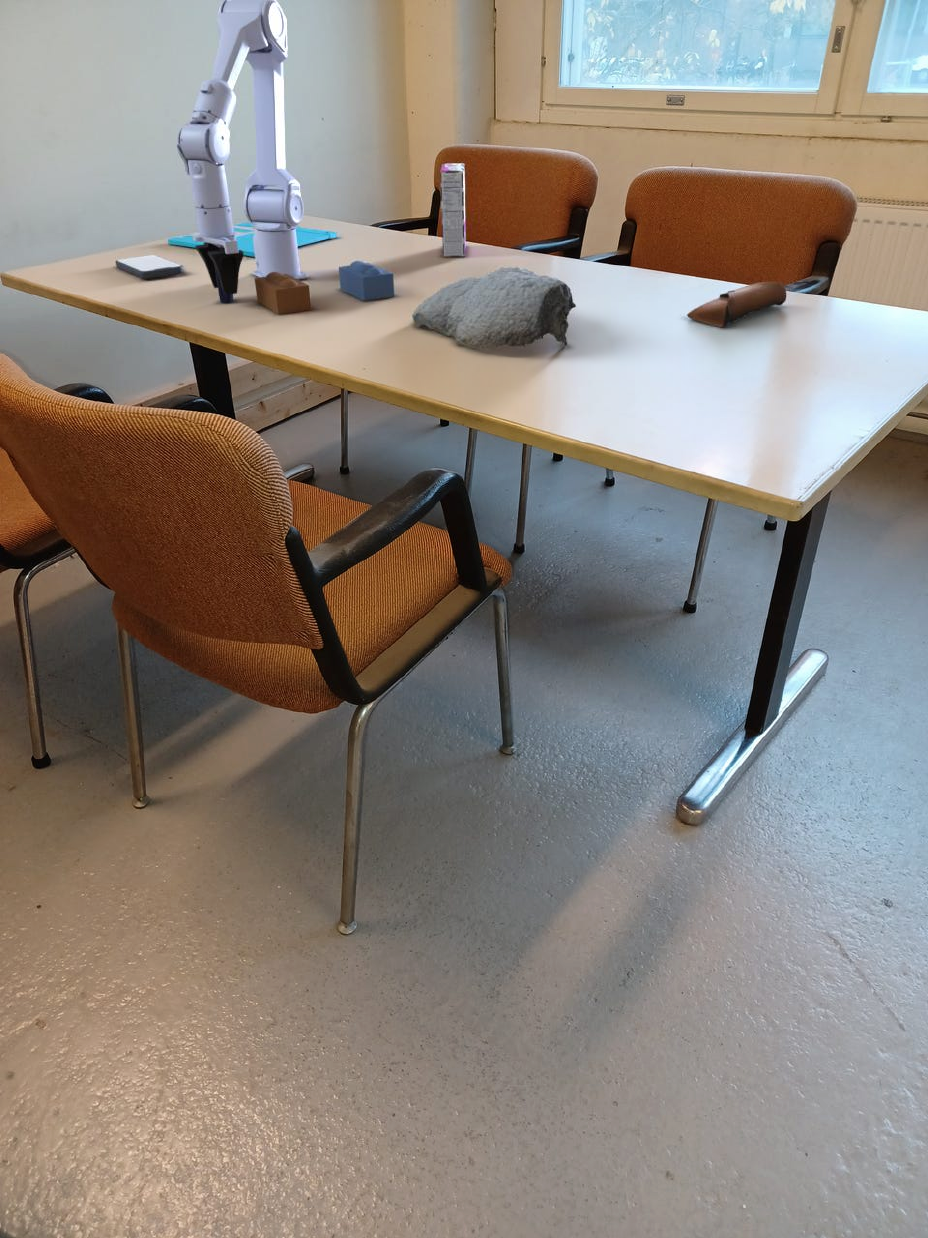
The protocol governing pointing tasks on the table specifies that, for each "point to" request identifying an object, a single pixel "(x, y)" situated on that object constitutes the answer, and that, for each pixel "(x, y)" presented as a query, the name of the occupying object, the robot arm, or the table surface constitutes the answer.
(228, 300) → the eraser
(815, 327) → the table surface
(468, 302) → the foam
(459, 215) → the candy bar box
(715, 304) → the sunglasses case
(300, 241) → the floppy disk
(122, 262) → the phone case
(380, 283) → the blue rectangular block
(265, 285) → the brown lumpy block
